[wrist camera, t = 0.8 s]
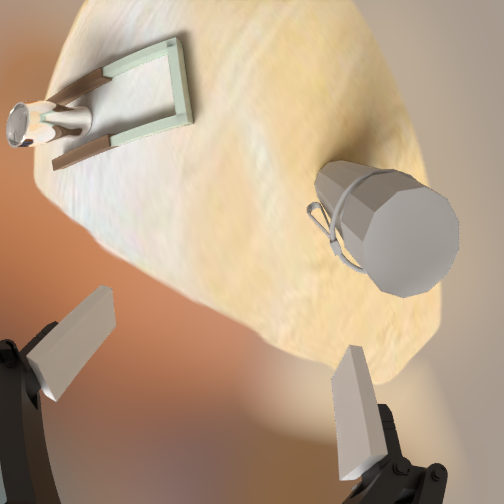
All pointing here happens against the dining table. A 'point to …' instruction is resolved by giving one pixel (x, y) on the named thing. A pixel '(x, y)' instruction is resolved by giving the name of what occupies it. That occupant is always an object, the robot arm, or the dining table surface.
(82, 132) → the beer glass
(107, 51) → the dining table surface
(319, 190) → the water bottle
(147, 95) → the dining table surface
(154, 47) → the pale green u-shaped frame
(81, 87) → the slot rails
